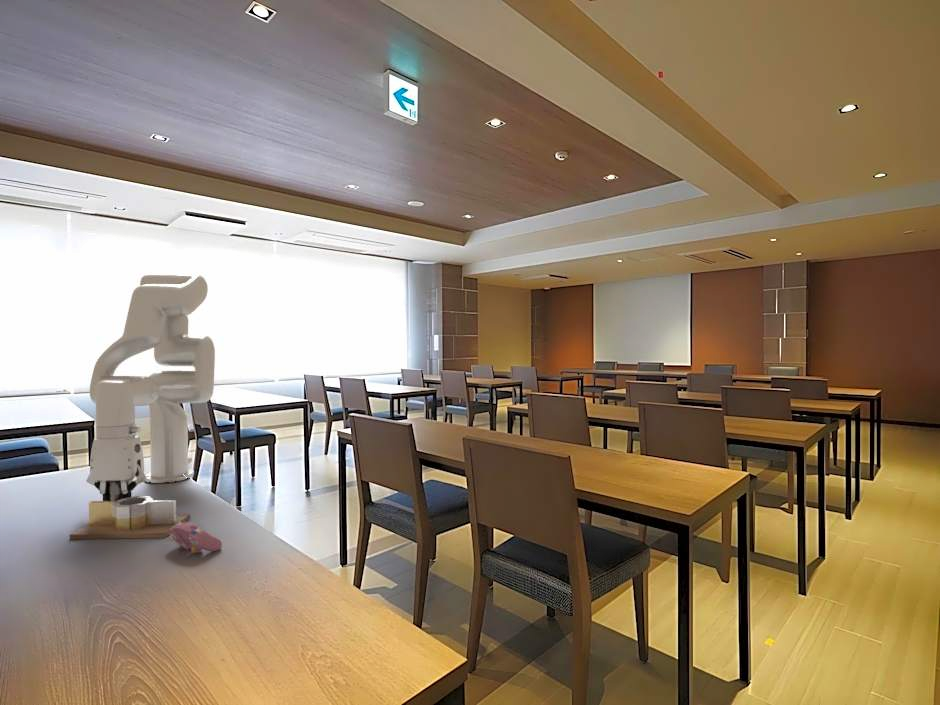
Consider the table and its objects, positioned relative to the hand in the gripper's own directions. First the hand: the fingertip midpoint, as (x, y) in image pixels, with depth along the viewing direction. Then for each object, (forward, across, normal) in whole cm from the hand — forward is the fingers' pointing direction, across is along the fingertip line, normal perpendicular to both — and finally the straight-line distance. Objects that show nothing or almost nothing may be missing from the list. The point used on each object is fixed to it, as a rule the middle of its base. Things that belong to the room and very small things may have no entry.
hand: (117, 508), depth 120 cm
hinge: (+1, -9, +10) cm, 13 cm away
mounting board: (+1, -9, +10) cm, 13 cm away
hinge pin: (+1, 0, 0) cm, 1 cm away
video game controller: (+1, -27, +21) cm, 35 cm away
